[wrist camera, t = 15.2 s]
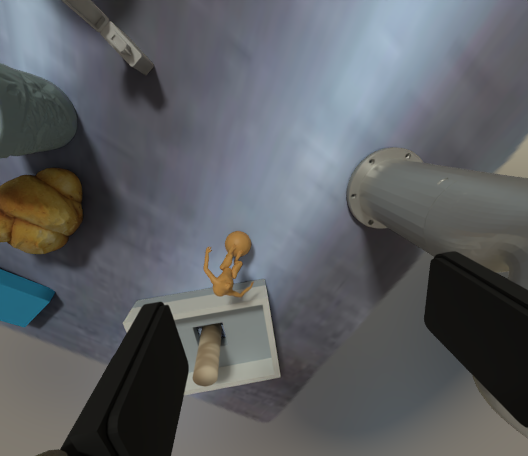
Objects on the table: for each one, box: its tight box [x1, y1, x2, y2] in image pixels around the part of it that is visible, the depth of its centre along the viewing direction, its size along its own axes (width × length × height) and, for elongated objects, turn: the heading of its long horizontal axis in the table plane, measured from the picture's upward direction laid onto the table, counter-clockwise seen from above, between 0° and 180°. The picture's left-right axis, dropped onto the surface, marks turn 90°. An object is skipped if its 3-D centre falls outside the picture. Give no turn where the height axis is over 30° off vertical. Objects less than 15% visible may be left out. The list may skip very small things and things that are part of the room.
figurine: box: [204, 231, 254, 297], centre depth 35 cm, size 8×6×12 cm
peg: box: [193, 323, 222, 387], centre depth 41 cm, size 4×4×10 cm
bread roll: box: [0, 168, 83, 254], centre depth 32 cm, size 13×10×8 cm
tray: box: [123, 279, 281, 395], centre depth 43 cm, size 22×17×6 cm
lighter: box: [62, 0, 154, 75], centre depth 27 cm, size 7×2×8 cm, turn 42°
